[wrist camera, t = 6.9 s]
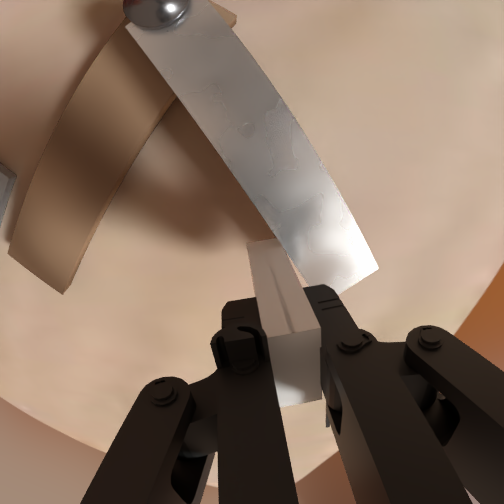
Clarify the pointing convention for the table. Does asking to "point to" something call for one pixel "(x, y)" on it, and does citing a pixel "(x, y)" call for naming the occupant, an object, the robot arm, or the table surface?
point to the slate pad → (5, 188)
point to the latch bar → (253, 136)
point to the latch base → (90, 157)
